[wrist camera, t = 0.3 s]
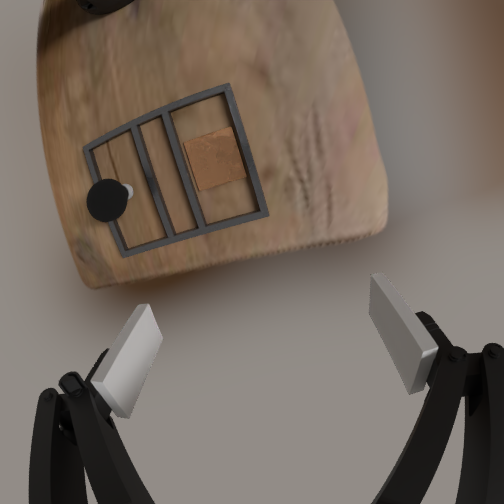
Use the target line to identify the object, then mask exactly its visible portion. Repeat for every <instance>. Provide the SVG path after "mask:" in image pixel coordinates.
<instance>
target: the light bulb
mask: <svg viewBox="0 0 504 504" xmlns="http://www.w3.org/2000/svg"><path fill="white" fill-rule="evenodd" d="M132 196H133V189H132V187H131V186H130V185H128V184H123V185H122V184H121V183H119V182H118V181H116V180H113V179H103V180H100V181H98V182H96V183H95V184H94V185H93V186H92V187H91V189H90V190H89V193H88V196H87V207H88V210H89V212H90V214H91V215H92V216H93V217H94V218H95V219H97V220H99V221H102V222H111V221H114V220H116V219H117V218H119V217H120V216H121V215H122V214H123V212H124V211H125V208H126V205H127V200H128V199H130V198H131V197H132Z"/></svg>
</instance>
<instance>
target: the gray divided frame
mask: <svg viewBox="0 0 504 504" xmlns="http://www.w3.org/2000/svg"><path fill="white" fill-rule="evenodd" d="M222 93H225V95H226V98H227V101H228V105H229V108H230V111H231V114H232V117H233V121H234V124H235V127H236V130H237V133H238V137H239V140H240V143H241V147H242V150H243V153H244V156H245V160H246V163H247V166H248V170H249V173H250V176H251V180H252V183H253V187H254V190H255V193H256V197H257V200H258V204H259V207H260V210H257V211H253V212H249V213H246V214H242V215H239V216H235V217H231V218H228V219H224V220H221V221H217V222H214V223H210V224H207V223H206V220H205V217H204V215H203V212H202V209H201V206H200V203H199V200H198V197H197V194H196V191H195V188H194V185H193V182H192V179H191V176H190V173H189V170H188V167H187V164H186V161H185V157H184V154H183V151H182V148H181V145H180V142H179V139H178V135H177V132H176V129H175V126H174V122H173V119H172V116H171V113H170V112H172V111H174V110H177V109H179V108H182V107H185V106H187V105H190V104H193V103H195V102H198V101H201V100H204V99H207V98H210V97H213V96H216V95H219V94H222ZM160 116H162V117H163V121H164V124H165V127H166V131H167V134H168V137H169V140H170V143H171V147H172V150H173V153H174V156H175V159H176V162H177V165H178V168H179V171H180V174H181V177H182V180H183V183H184V186H185V189H186V192H187V195H188V198H189V201H190V204H191V207H192V210H193V213H194V215H195V218H196V221H197V224H198V227H197V228H193V229H190V230H187V231H183V232H180V233H177V234H176V232H175V229H174V226H173V224H172V221H171V218H170V215H169V213H168V210H167V207H166V204H165V202H164V199H163V196H162V193H161V190H160V187H159V184H158V181H157V178H156V176H155V173H154V170H153V166H152V163H151V160H150V157H149V154H148V151H147V148H146V145H145V141H144V138H143V135H142V132H141V128H140V125H141V124H144V123H146V122H148V121H150V120H153V119H155V118H157V117H160ZM129 130H132V134H133V137H134V140H135V144H136V147H137V150H138V153H139V156H140V160H141V163H142V166H143V169H144V172H145V175H146V178H147V181H148V184H149V186H150V189H151V192H152V195H153V198H154V201H155V203H156V206H157V209H158V212H159V214H160V217H161V220H162V222H163V225H164V228H165V230H166V233H167V237H164V238H160V239H157V240H154V241H151V242H148V243H144V244H141V245H138V246H135V247H132V248H129V249H128V247H127V245H126V242H125V240H124V237H123V235H122V232H121V230H120V227H119V225H118V222H117V220H114V221H111V222H108V223H109V226H110V228H111V231H112V233H113V236H114V238H115V241H116V243H117V245H118V248H119V250H120V252H121V255H122V257H123V258H125V257H129V256H132V255H135V254H138V253H142V252H145V251H148V250H151V249H155V248H158V247H161V246H165V245H168V244H171V243H175V242H178V241H182V240H185V239H189V238H192V237H196V236H199V235H203V234H206V233H210V232H213V231H217V230H220V229H224V228H227V227H231V226H235V225H238V224H242V223H246V222H249V221H253V220H257V219H261V218H264V217H268V216H269V211H268V208H267V204H266V201H265V197H264V194H263V190H262V187H261V183H260V180H259V177H258V173H257V170H256V166H255V163H254V160H253V156H252V153H251V150H250V146H249V143H248V140H247V136H246V133H245V130H244V127H243V123H242V120H241V117H240V114H239V110H238V107H237V104H236V101H235V98H234V95H233V92H232V88H231V85H230V83H226V84H223V85H220V86H217V87H214V88H211V89H208V90H205V91H202V92H199V93H196V94H193V95H191V96H188V97H185V98H183V99H180V100H178V101H175V102H172V103H170V104H168V105H165V106H163V107H160V108H158V109H156V110H153V111H151V112H149V113H147V114H145V115H142V116H140V117H138V118H136V119H134V120H132V121H130V122H128V123H126V124H124V125H122V126H120V127H118V128H116V129H114V130H112V131H110V132H108V133H106V134H105V135H103V136H101V137H99V138H97V139H96V140H94V141H92V142H90V143H89V144H87V145H85V146H83V150H84V153H85V157H86V160H87V163H88V166H89V170H90V173H91V176H92V179H93V182H94V184H95V183H96V182H98V181H100V180H102V178H101V175H100V172H99V169H98V166H97V162H96V159H95V156H94V152H93V149H94V148H96V147H98V146H100V145H101V144H103V143H105V142H107V141H109V140H111V139H113V138H115V137H117V136H119V135H121V134H123V133H125V132H127V131H129ZM184 145H185V149H186V152H187V155H188V158H189V161H190V164H191V167H192V170H193V173H194V177H195V180H196V183H197V186H198V189H199V191H201V190H204V189H208V188H211V187H214V186H217V185H221V184H224V183H227V182H231V181H234V180H237V179H241V178H244V177H247V176H246V172H245V169H244V166H243V162H242V159H241V156H240V153H239V149H238V146H237V143H236V139H235V136H234V133H233V130H232V127H228V128H225V129H222V130H219V131H216V132H212V133H209V134H206V135H203V136H201V137H198V138H195V139H192V140H189V141H186V142H184Z"/></svg>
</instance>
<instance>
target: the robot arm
mask: <svg viewBox="0 0 504 504" xmlns="http://www.w3.org/2000/svg"><path fill="white" fill-rule="evenodd" d="M132 1H133V0H77V2H78V4H79V5H80V7H81V8H82V9H84V10H86V11H88V12H89V13H92V14H106V13H110V12H113V11H115V10H118V9H120V8H122V7H124V6H125V5H127V4H129V3H130V2H132ZM369 315H370V317H371V319H372V320H373V322H374V324H375V326H376V328H377V330H378V332H379V334H380V336H381V338H382V340H383V342H384V344H385V346H386V348H387V350H388V352H389V354H390V355H391V358H392V359H393V362H394V364H395V366H396V368H397V370H398V372H399V374H400V376H401V378H402V381H403V383H404V385H405V387H406V389H407V392H408V394H409V395H410V394H413V393H416V392H419V391H422V390H424V387H425V385H426V382H427V384H428V386H429V387H430V389H429V391H428V394H427V396H426V398H425V400H424V405H423V407H422V410H421V412H420V414H419V417H418V419H417V421H416V424H415V426H414V429H413V431H412V433H411V435H410V437H409V439H408V441H407V443H406V445H405V447H404V449H403V451H402V453H401V455H400V457H399V459H398V461H397V462H396V464H395V466H394V468H393V470H392V471H391V473H390V475H389V477H388V478H387V480H386V482H385V483H384V485H383V486H382V488H381V490H380V491H379V493H378V494H377V496H376V497H375V499H374V500H373V502H372V503H371V504H420V503H421V501H422V499H423V497H424V496H425V494H426V492H427V490H428V487H429V485H430V483H431V481H432V479H433V477H434V475H435V472H436V470H437V468H438V466H439V463H440V461H441V458H442V456H443V453H444V451H445V448H446V445H447V443H448V440H449V437H450V434H451V431H452V428H453V425H454V421H455V418H456V415H457V411H458V408H459V404H460V400H461V397H464V396H465V433H464V449H463V459H462V468H461V475H460V482H459V488H458V493H457V498H456V503H455V504H504V348H503V347H502V346H501V345H499V344H496V343H489V344H487V345H485V346H484V348H483V350H482V352H481V353H467V351H465V350H464V349H463V348H460V347H458V346H453V345H452V344H451V342H450V341H449V340H448V338H447V337H446V336H445V334H444V333H443V332H442V331H441V329H439V326H438V325H437V324H436V323H435V321H434V320H433V318H432V317H431V316H430V315H428V314H427V313H425V312H423V311H421V312H418V313H414V312H413V311H412V309H411V308H410V306H409V305H408V304H407V302H406V301H405V300H404V298H403V297H402V296H401V294H400V293H399V292H398V291H397V290H396V288H395V287H394V286H393V284H392V283H391V282H390V280H388V278H387V277H386V276H385V274H384V273H383V272H381V273H376V274H371V284H370V304H369ZM162 340H163V337H162V335H161V333H160V330H159V328H158V326H157V323H156V321H155V318H154V316H153V313H152V311H151V308H150V306H149V304H140V305H138V306H137V307H136V309H135V310H134V312H133V313H132V315H131V316H130V318H129V319H128V321H127V322H126V324H125V325H124V327H123V329H122V330H121V332H120V333H119V335H118V336H117V338H116V340H115V341H114V343H113V344H112V346H111V347H110V349H106V350H105V351H104V352H103V353H102V354H101V355H100V357H99V358H98V360H97V362H96V363H95V364H94V367H93V368H92V369H91V371H90V373H89V374H88V376H87V378H86V379H85V381H83V379H82V378H81V376H80V375H79V374H78V373H77V372H69V373H66V374H65V375H64V376H63V377H62V378H61V379H60V381H59V386H60V388H61V389H62V390H63V392H64V393H65V394H58V392H57V391H56V390H55V389H54V388H48V389H46V390H44V391H43V392H42V393H41V395H40V396H39V400H38V405H37V411H36V416H35V422H34V428H33V436H32V444H31V454H30V468H29V504H88V501H87V494H86V485H85V473H84V467H85V470H86V473H87V476H88V479H89V482H90V484H91V487H92V490H93V492H94V495H95V497H96V500H97V502H98V504H155V503H154V501H153V500H152V498H151V496H150V494H149V493H148V491H147V489H146V488H145V486H144V484H143V482H142V481H141V479H140V477H139V475H138V473H137V471H136V469H135V467H134V465H133V463H132V462H131V460H130V457H129V455H128V453H127V451H126V449H125V447H124V445H123V442H122V440H121V438H120V436H119V433H118V431H117V429H116V426H115V424H114V422H113V419H112V418H111V416H110V413H111V411H113V412H114V413H115V415H116V416H117V417H121V418H128V419H129V418H130V416H131V413H132V411H133V408H134V405H135V403H136V401H137V399H138V396H139V394H140V391H141V389H142V386H143V384H144V382H145V379H146V377H147V375H148V372H149V370H150V368H151V365H152V363H153V361H154V358H155V356H156V354H157V351H158V349H159V347H160V345H161V342H162ZM59 425H60V427H59Z"/></svg>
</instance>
